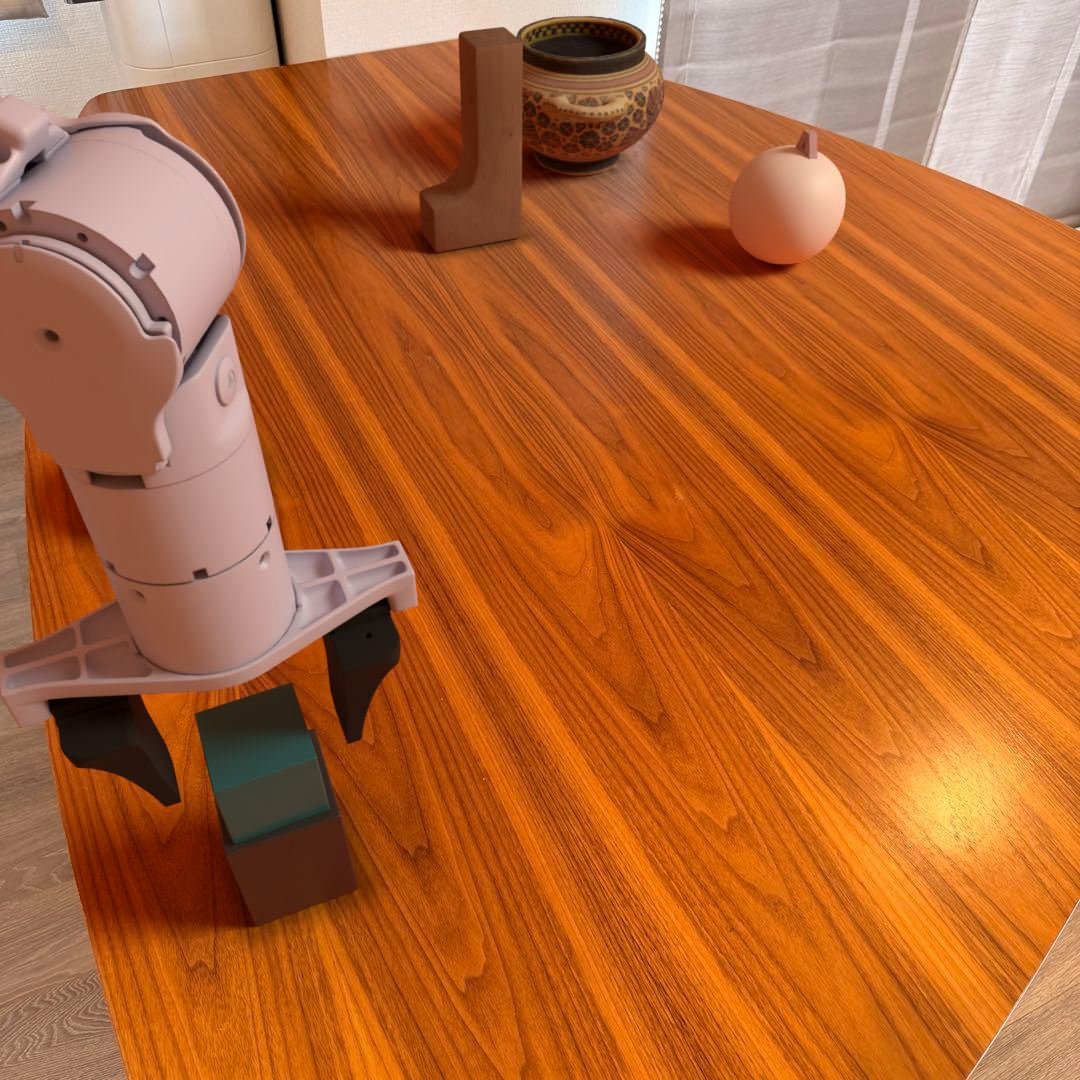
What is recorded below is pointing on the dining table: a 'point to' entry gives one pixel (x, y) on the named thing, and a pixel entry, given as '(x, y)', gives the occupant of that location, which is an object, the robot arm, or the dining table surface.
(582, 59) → the ceramic bowl
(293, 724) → the teal block
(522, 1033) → the dining table surface
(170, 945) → the dining table surface
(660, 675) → the dining table surface
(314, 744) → the dark brown block
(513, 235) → the wooden block
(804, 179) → the ornament
